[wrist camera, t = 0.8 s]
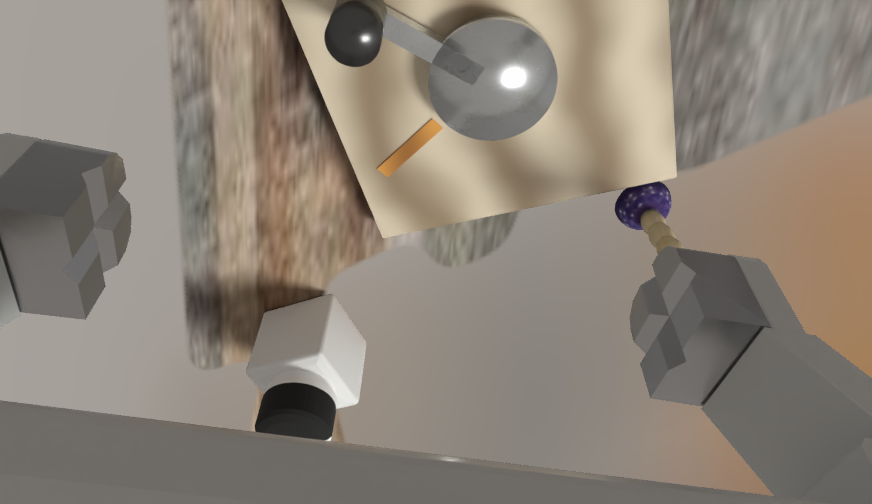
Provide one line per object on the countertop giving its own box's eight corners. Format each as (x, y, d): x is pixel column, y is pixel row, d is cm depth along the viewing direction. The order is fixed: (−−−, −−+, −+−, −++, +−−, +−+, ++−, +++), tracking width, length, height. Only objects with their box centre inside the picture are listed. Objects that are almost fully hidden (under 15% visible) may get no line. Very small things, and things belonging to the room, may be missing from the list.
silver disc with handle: (581, 55, 40) (595, 93, 36) (509, 151, 45) (514, 195, 41) (369, -72, 36) (358, -44, 32) (313, 50, 40) (298, 87, 36)
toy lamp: (678, 172, 48) (791, 342, 36) (674, 220, 51) (777, 392, 39) (614, 185, 48) (703, 357, 36) (614, 232, 51) (696, 407, 39)
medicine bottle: (262, 310, 59) (227, 423, 49) (333, 291, 57) (310, 404, 48) (301, 359, 63) (275, 471, 54) (368, 342, 61) (352, 455, 52)
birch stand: (650, -184, 34) (659, -179, 32) (669, 162, 48) (677, 178, 46) (266, -65, 38) (258, -55, 37) (385, 222, 52) (382, 239, 50)
